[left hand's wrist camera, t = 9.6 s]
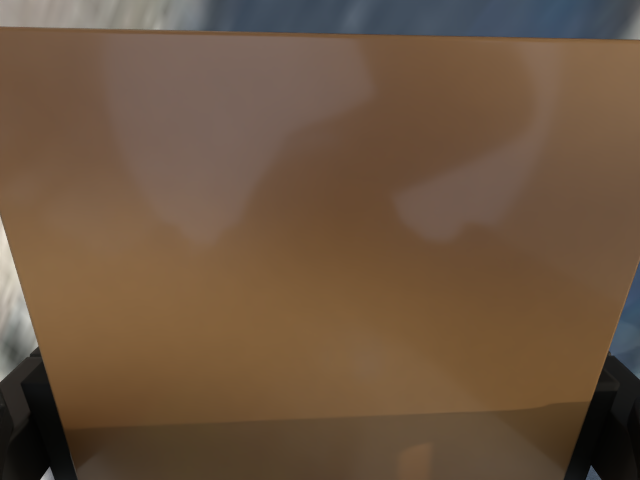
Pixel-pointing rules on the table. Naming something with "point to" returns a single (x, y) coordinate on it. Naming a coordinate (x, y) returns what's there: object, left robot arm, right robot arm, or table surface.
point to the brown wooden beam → (320, 246)
